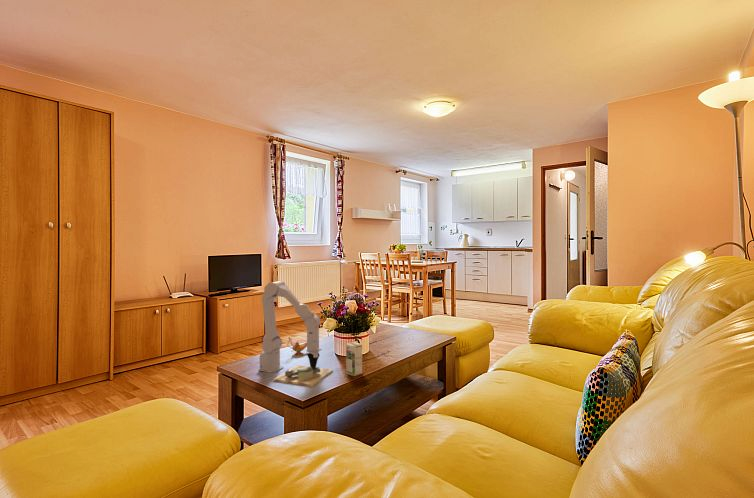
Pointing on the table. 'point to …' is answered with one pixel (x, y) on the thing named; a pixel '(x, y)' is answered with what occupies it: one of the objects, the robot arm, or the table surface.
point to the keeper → (305, 372)
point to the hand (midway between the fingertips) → (313, 368)
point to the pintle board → (305, 382)
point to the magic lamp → (298, 347)
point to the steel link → (295, 372)
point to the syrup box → (353, 358)
